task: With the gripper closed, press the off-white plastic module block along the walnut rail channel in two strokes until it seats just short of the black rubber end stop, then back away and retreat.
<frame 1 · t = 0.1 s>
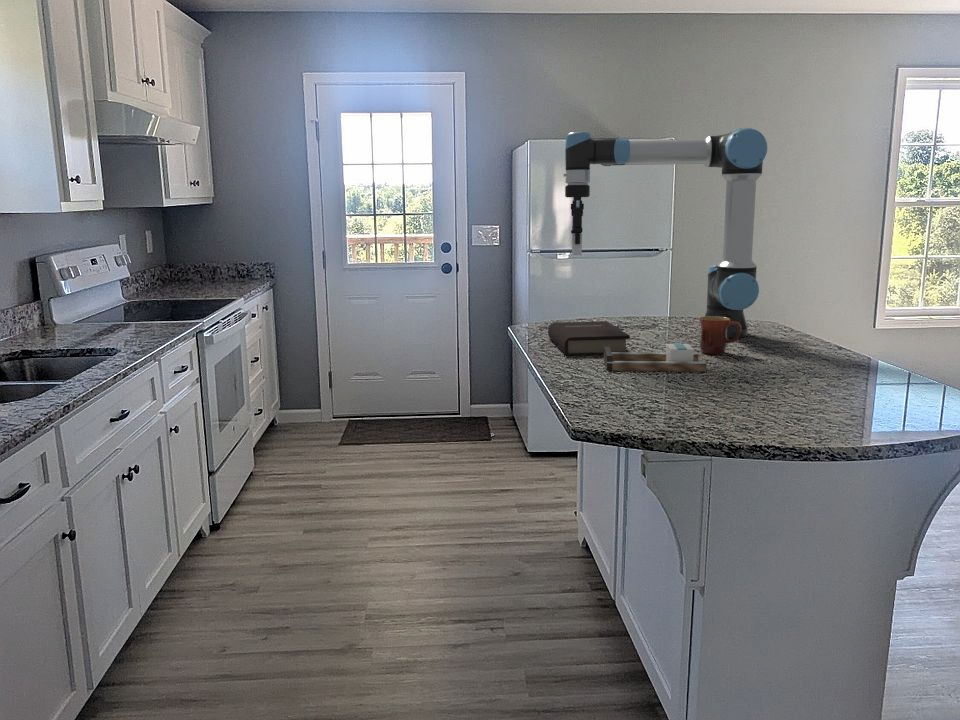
hand: (576, 253, 248), 28 cm above the table, fingers open, 13 cm apart
book: (586, 348, 245), on the table
rail board: (653, 365, 216), on the table
mug: (718, 353, 231), on the table
module: (679, 366, 215), resting on rail board
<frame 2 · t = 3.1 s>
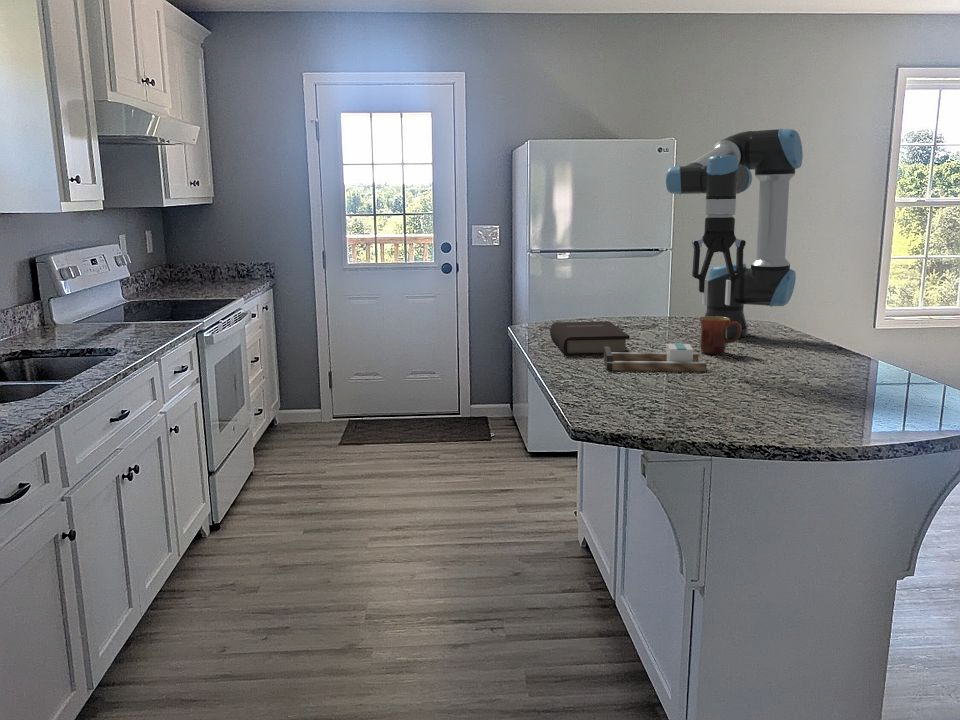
hand: (715, 304, 211), 17 cm above the table, fingers open, 5 cm apart
nothing on the table moved.
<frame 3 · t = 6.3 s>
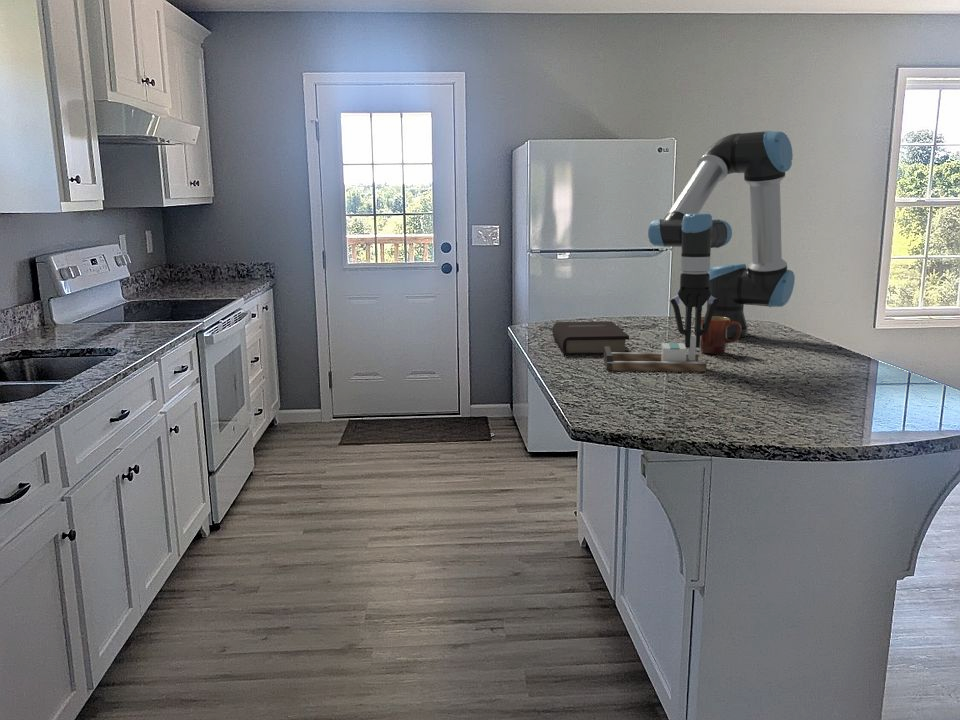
hand: (691, 359, 214), 2 cm above the table, fingers closed
module: (673, 365, 215), resting on rail board, touching gripper
everything else where it was.
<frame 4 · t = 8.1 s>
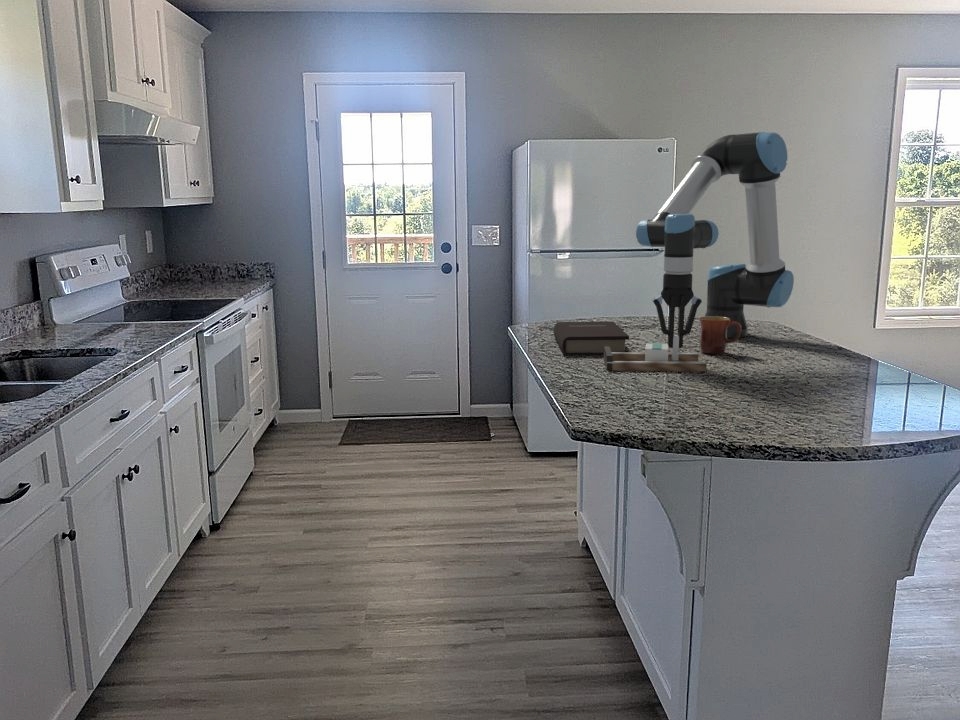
hand: (674, 359, 215), 2 cm above the table, fingers closed
module: (656, 366, 216), resting on rail board, touching gripper
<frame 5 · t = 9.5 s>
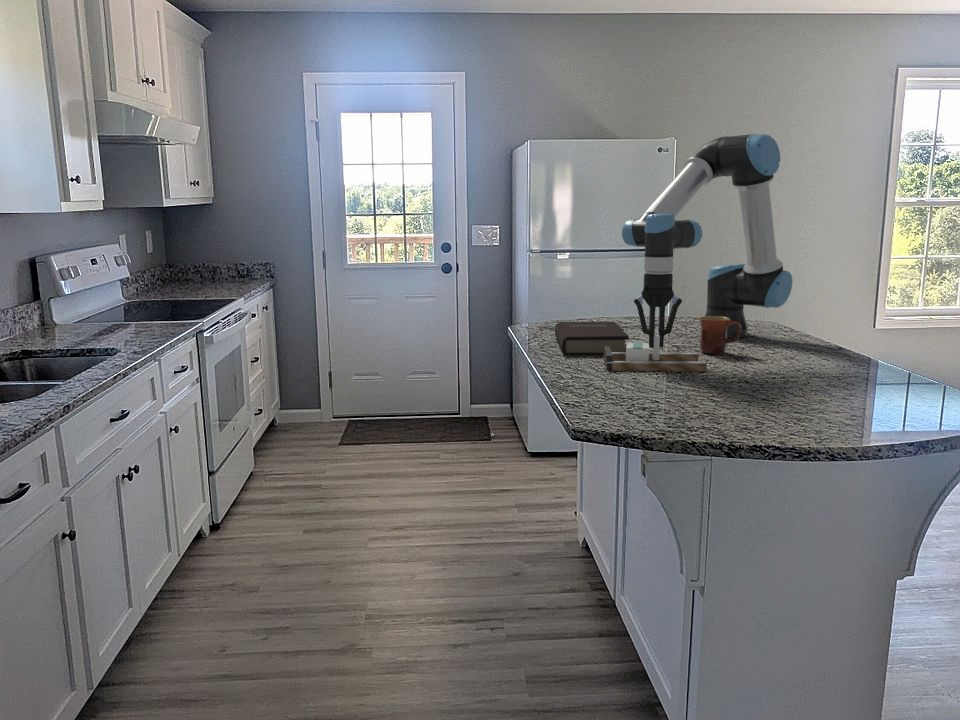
hand: (655, 359, 215), 2 cm above the table, fingers closed
module: (637, 365, 216), resting on rail board, touching gripper
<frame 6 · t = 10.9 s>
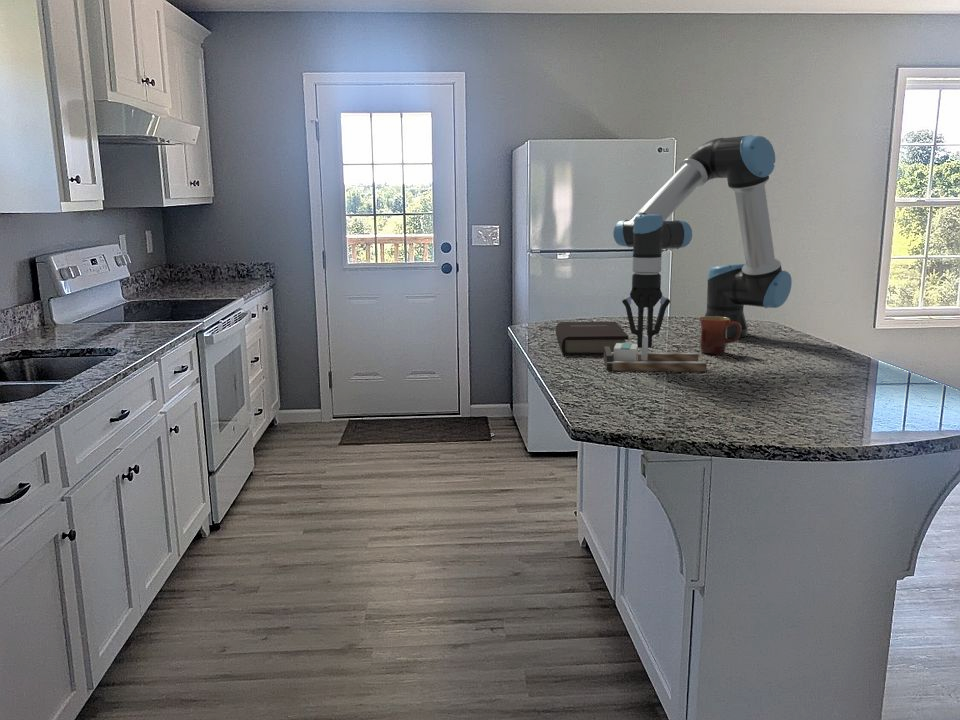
hand: (644, 359, 215), 2 cm above the table, fingers closed
module: (625, 365, 217), resting on rail board
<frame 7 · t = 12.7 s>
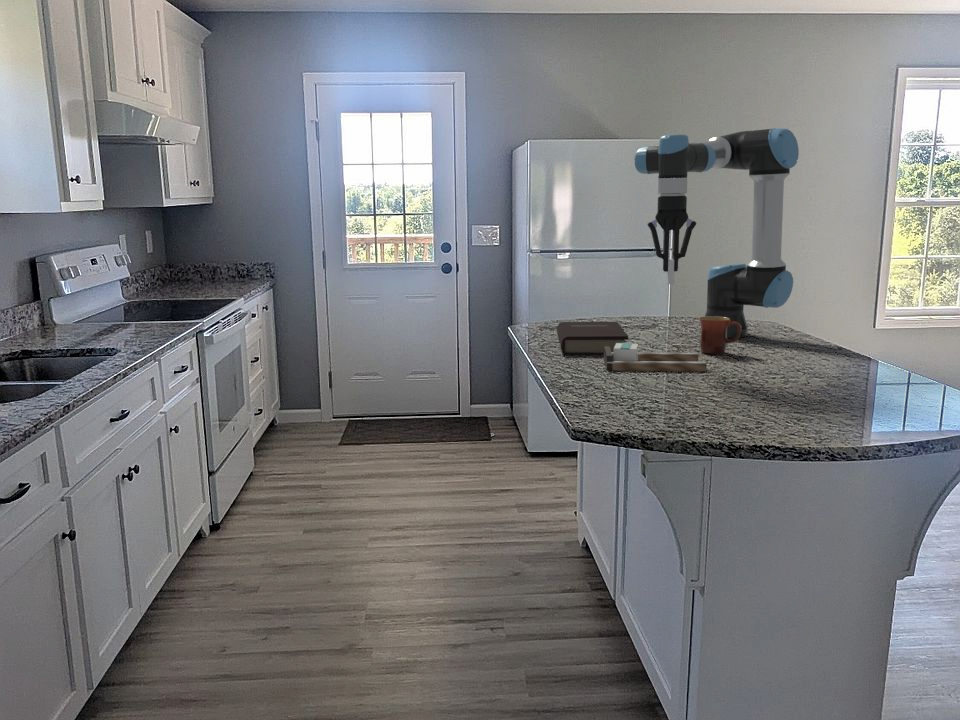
hand: (670, 283, 214), 22 cm above the table, fingers closed
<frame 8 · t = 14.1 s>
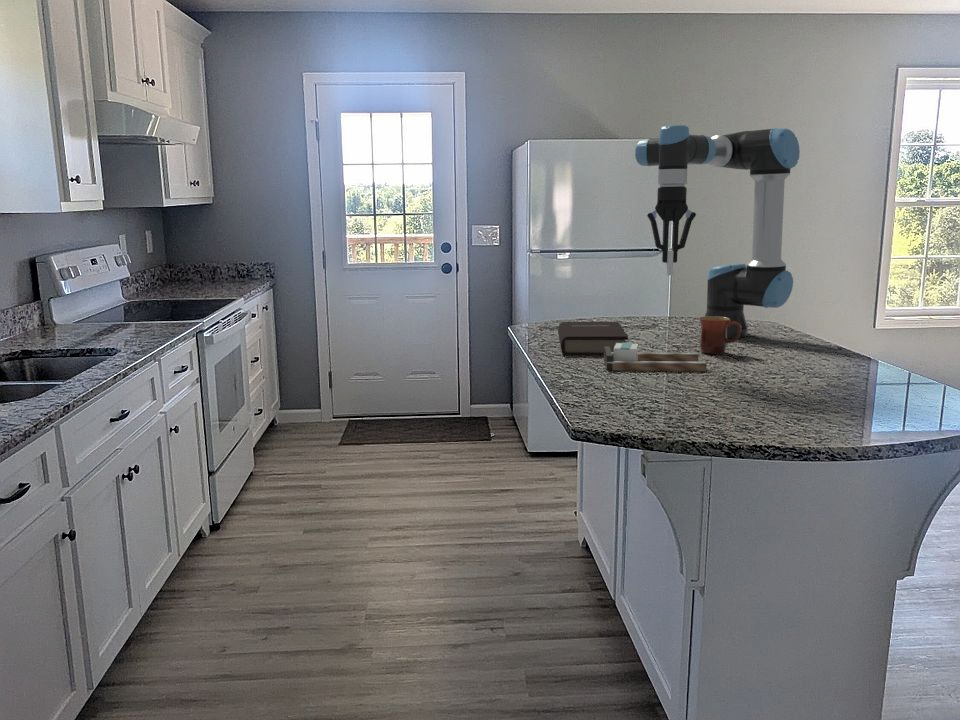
hand: (669, 274, 214), 24 cm above the table, fingers closed
at the end: module 0.6 cm from the target spot on the rail board, point 0.0 cm above the rail board's base; module tilted 0°; the gripper is holding nothing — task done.
